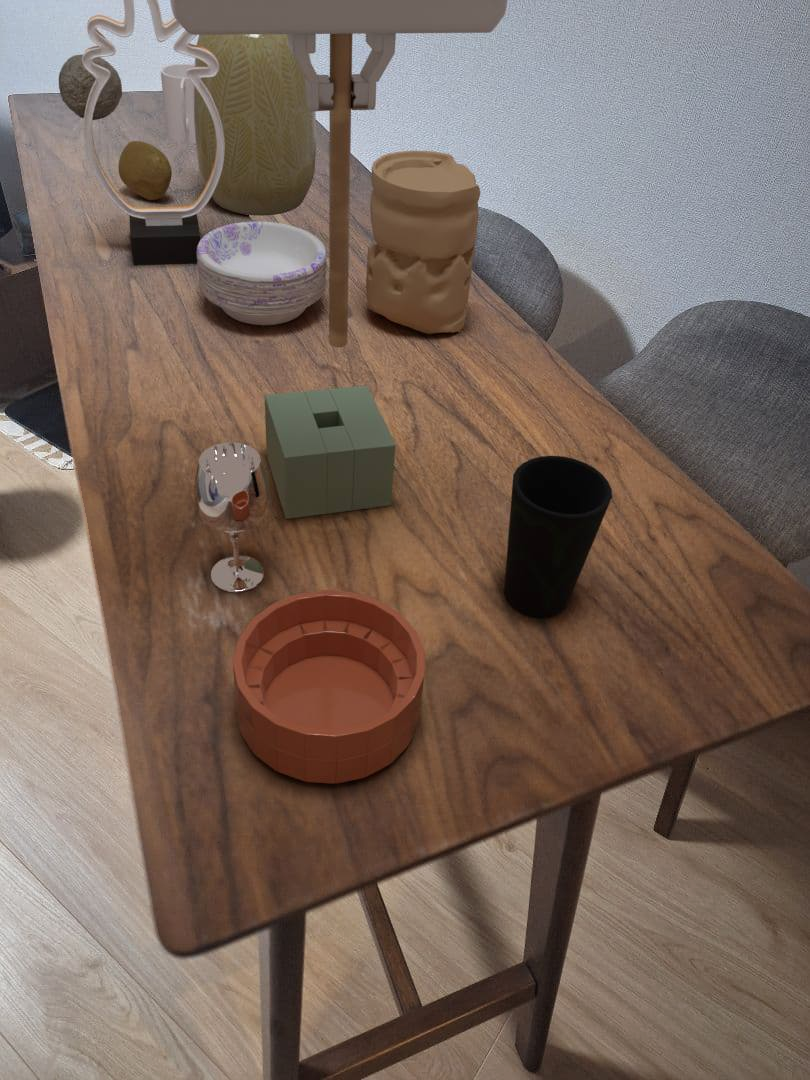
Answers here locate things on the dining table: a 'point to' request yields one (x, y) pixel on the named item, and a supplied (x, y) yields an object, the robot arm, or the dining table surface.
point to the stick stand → (328, 451)
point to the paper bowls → (261, 271)
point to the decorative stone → (88, 87)
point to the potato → (145, 170)
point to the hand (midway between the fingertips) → (340, 108)
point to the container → (422, 240)
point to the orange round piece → (328, 685)
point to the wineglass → (232, 507)
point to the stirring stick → (339, 186)
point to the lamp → (151, 228)
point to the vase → (256, 124)
